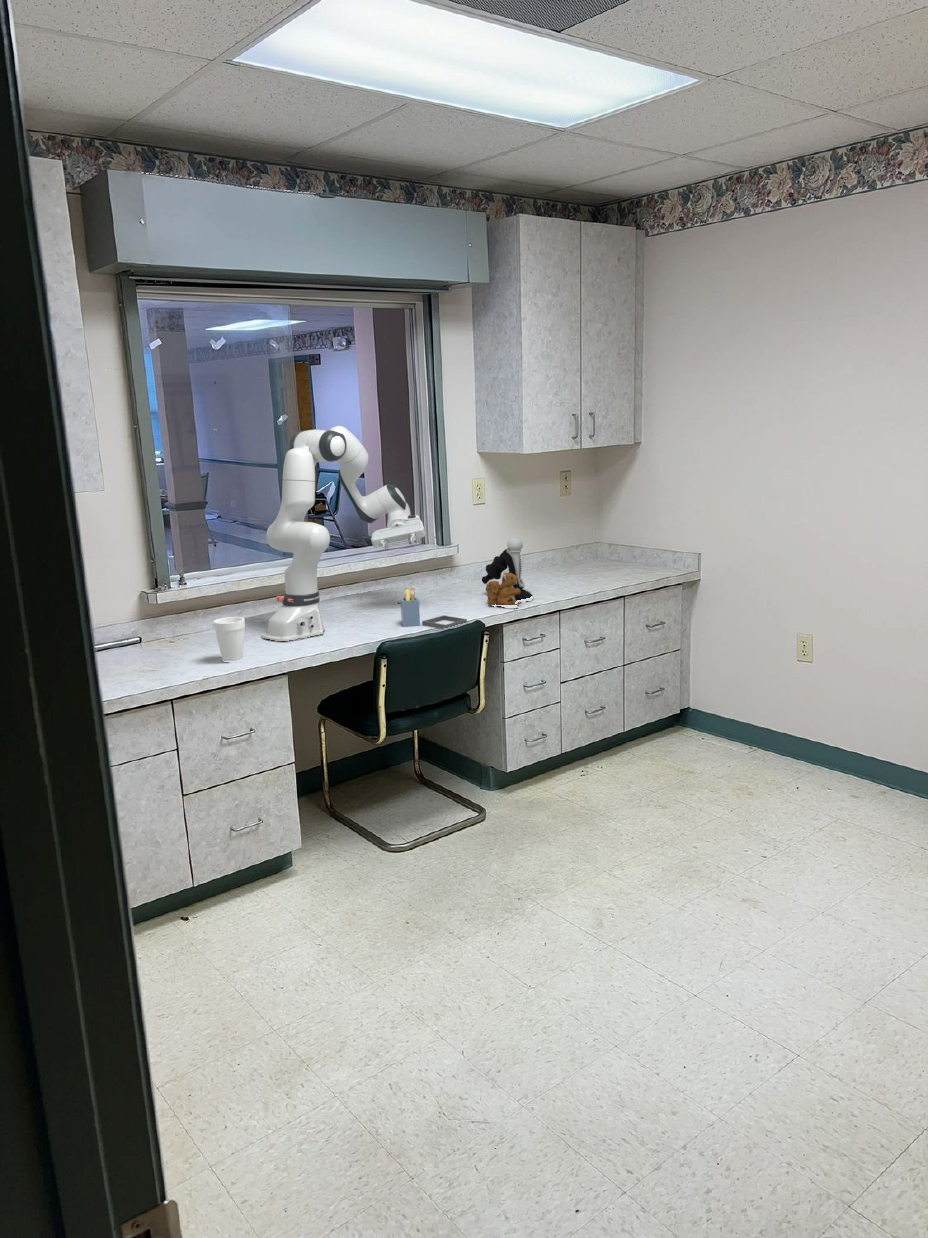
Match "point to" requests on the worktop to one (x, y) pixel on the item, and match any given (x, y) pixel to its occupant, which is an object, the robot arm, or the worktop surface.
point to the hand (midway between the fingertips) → (398, 545)
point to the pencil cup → (410, 612)
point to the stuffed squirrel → (503, 590)
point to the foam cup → (230, 637)
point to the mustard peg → (407, 594)
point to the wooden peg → (412, 593)
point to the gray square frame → (436, 625)
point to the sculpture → (510, 560)
